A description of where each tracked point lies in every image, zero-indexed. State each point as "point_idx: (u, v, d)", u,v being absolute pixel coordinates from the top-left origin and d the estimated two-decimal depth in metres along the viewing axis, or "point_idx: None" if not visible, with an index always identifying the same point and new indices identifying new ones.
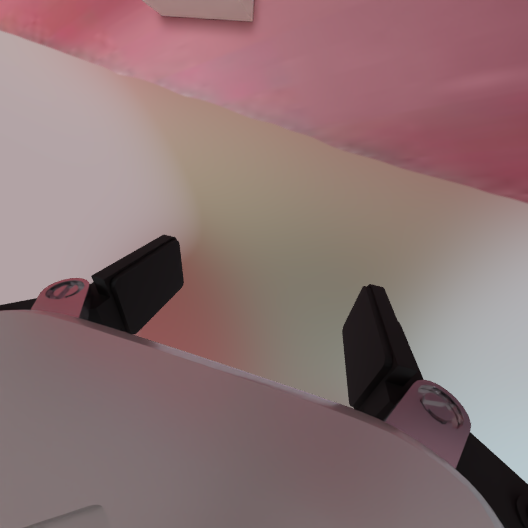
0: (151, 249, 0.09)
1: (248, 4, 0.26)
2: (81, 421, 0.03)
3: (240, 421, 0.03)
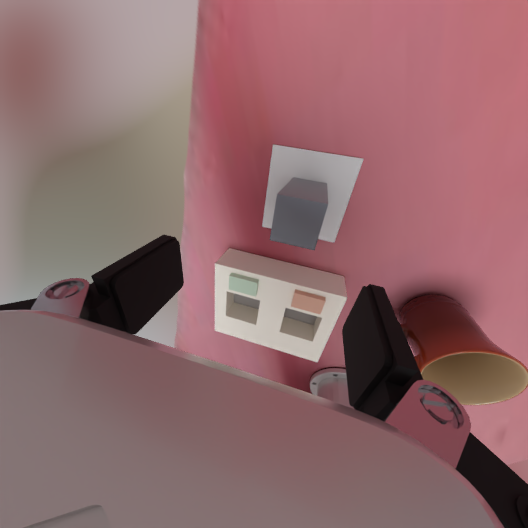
0: (151, 249, 0.09)
1: None
2: (81, 421, 0.03)
3: (241, 421, 0.03)
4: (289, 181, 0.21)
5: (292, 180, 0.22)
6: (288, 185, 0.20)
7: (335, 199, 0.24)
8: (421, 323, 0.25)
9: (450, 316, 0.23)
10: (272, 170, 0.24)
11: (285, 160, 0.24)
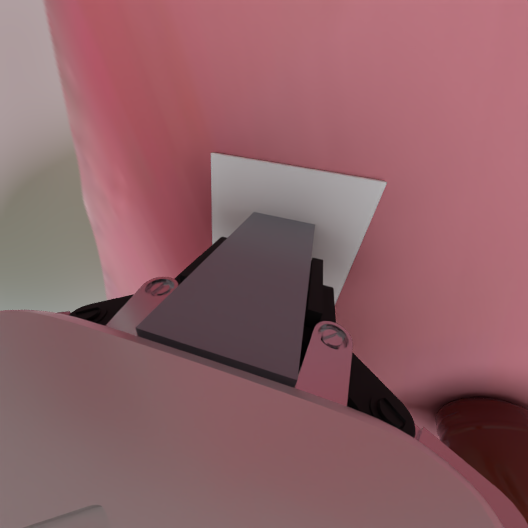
0: None
1: None
2: (81, 421, 0.03)
3: (240, 421, 0.03)
4: (235, 230, 0.10)
5: (245, 225, 0.11)
6: (221, 251, 0.09)
7: (331, 252, 0.13)
8: (486, 472, 0.14)
9: None
10: (217, 199, 0.13)
11: (236, 182, 0.13)
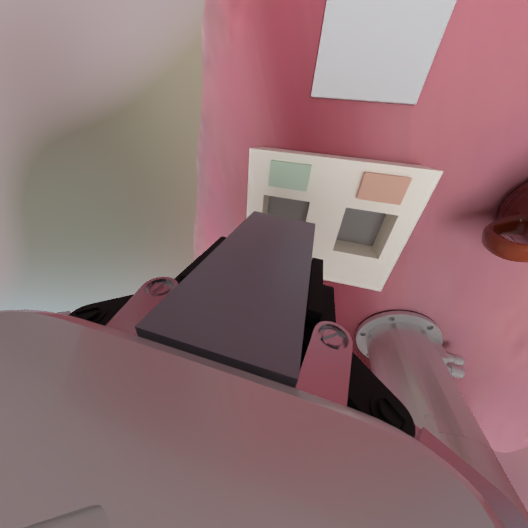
0: None
1: None
2: (81, 421, 0.03)
3: (240, 421, 0.03)
4: (235, 229, 0.10)
5: (245, 224, 0.11)
6: (221, 250, 0.08)
7: (428, 19, 0.17)
8: None
9: None
10: None
11: None
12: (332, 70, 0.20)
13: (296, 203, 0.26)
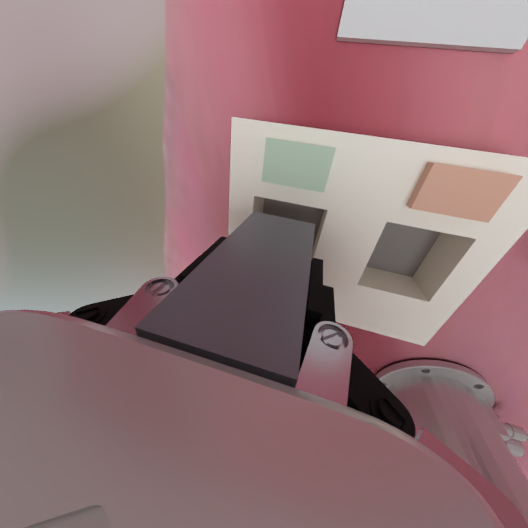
0: None
1: None
2: (81, 421, 0.03)
3: (241, 421, 0.03)
4: (235, 230, 0.10)
5: (244, 224, 0.11)
6: (220, 250, 0.08)
7: None
8: None
9: None
10: None
11: None
12: None
13: (304, 210, 0.17)
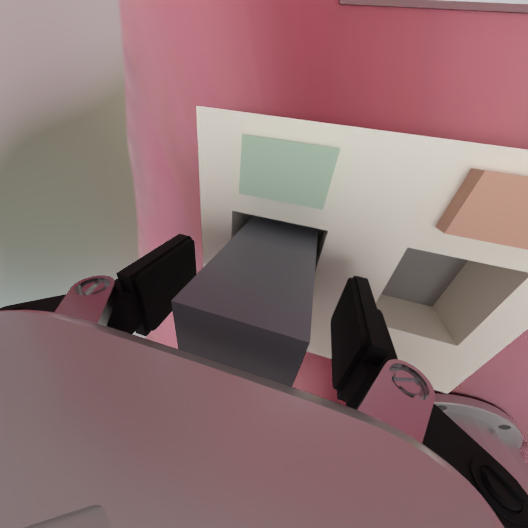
0: (170, 248, 0.09)
1: None
2: (81, 421, 0.03)
3: (240, 421, 0.03)
4: (245, 224, 0.11)
5: (254, 219, 0.12)
6: (235, 241, 0.09)
7: None
8: None
9: None
10: None
11: None
12: None
13: None
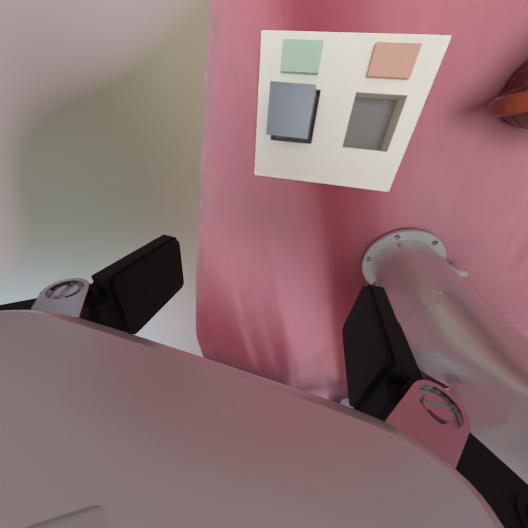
0: (151, 249, 0.09)
1: None
2: (81, 421, 0.03)
3: (241, 421, 0.03)
4: None
5: None
6: None
7: None
8: None
9: None
10: None
11: None
12: None
13: None
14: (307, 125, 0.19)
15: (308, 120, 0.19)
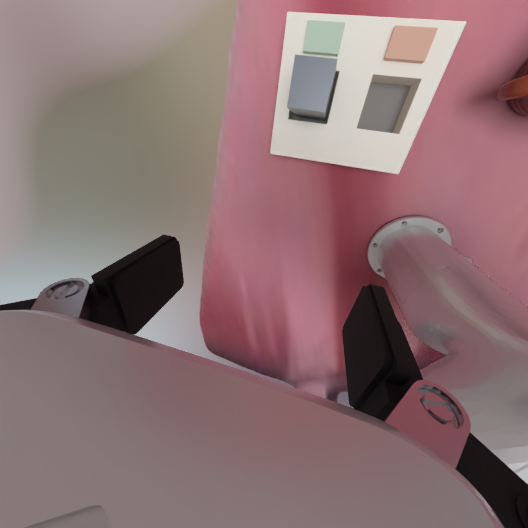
0: (151, 249, 0.09)
1: None
2: (81, 421, 0.03)
3: (240, 421, 0.03)
4: None
5: None
6: None
7: None
8: None
9: None
10: None
11: None
12: None
13: None
14: (326, 98, 0.20)
15: (328, 93, 0.20)
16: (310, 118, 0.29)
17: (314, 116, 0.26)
